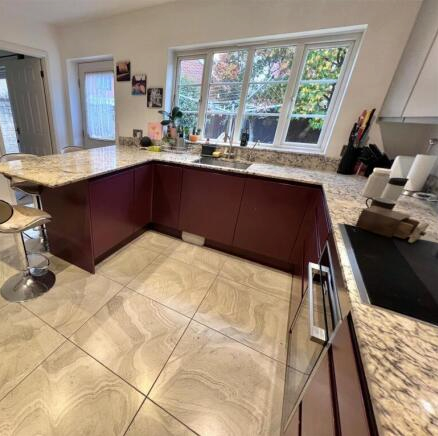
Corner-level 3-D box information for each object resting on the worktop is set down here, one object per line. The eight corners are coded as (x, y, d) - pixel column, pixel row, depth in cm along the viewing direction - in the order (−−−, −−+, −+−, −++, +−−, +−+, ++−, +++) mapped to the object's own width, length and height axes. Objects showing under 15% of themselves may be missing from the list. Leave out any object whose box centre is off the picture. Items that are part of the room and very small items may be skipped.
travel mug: (392, 218, 119) (412, 180, 110) (376, 216, 121) (395, 178, 112) (385, 213, 124) (404, 177, 116) (370, 211, 126) (388, 175, 118)
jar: (382, 200, 145) (396, 171, 137) (362, 197, 150) (374, 169, 142) (378, 196, 152) (391, 169, 145) (359, 193, 157) (371, 166, 150)
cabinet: (400, 232, 103) (410, 215, 100) (390, 238, 98) (400, 220, 95) (366, 221, 113) (374, 205, 110) (355, 226, 108) (362, 209, 104)
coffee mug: (390, 223, 112) (400, 204, 108) (368, 220, 115) (378, 201, 110) (378, 214, 122) (387, 197, 118) (358, 212, 125) (366, 194, 120)
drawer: (424, 239, 97) (434, 224, 94) (416, 244, 92) (425, 229, 89) (385, 226, 107) (393, 213, 104) (376, 230, 102) (383, 216, 99)
